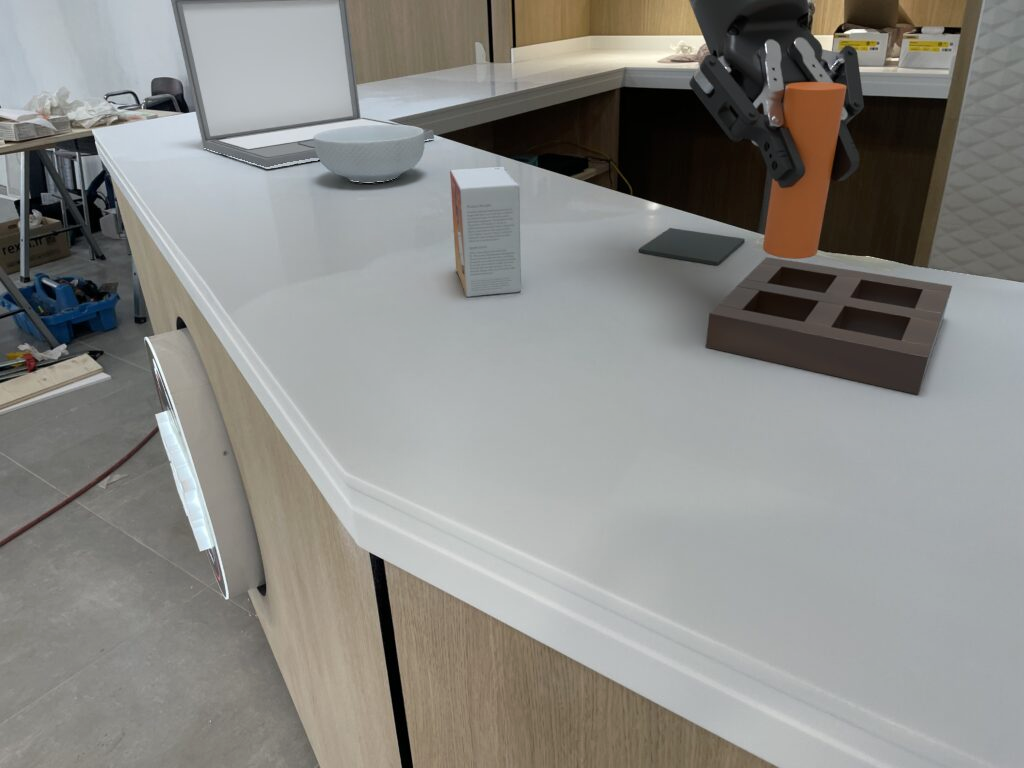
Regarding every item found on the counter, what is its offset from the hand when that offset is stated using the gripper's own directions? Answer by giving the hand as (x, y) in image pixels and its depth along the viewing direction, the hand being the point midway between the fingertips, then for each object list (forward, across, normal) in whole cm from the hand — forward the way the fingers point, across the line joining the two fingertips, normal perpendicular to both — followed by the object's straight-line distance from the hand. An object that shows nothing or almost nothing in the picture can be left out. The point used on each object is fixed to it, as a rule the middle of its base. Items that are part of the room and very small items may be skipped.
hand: (820, 177), depth 52 cm
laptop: (-67, -24, +86) cm, 112 cm away
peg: (+3, 0, +6) cm, 6 cm away
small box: (-8, -18, +27) cm, 33 cm away
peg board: (+9, +5, +10) cm, 14 cm away
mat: (-8, +7, +28) cm, 29 cm away
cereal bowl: (-44, -20, +63) cm, 79 cm away
